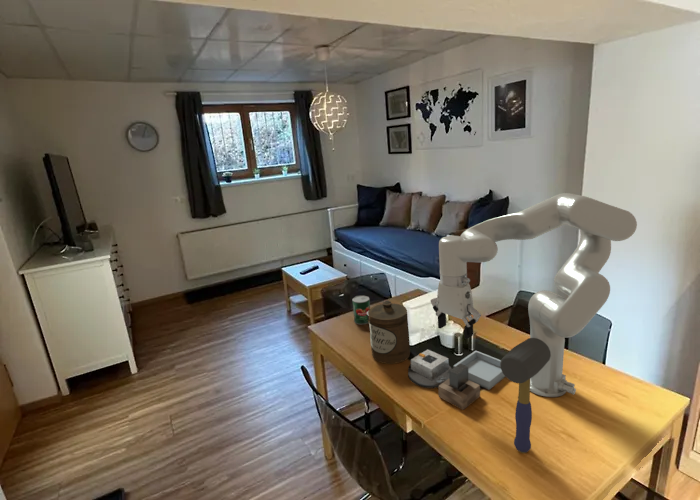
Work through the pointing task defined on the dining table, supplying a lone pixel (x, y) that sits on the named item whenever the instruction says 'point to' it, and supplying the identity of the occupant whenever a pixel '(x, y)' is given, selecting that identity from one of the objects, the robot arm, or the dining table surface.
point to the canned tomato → (361, 309)
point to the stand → (459, 394)
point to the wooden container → (389, 333)
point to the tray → (483, 369)
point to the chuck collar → (429, 364)
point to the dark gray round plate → (425, 381)
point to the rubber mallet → (524, 383)
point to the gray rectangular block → (458, 377)
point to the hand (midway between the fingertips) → (455, 331)
